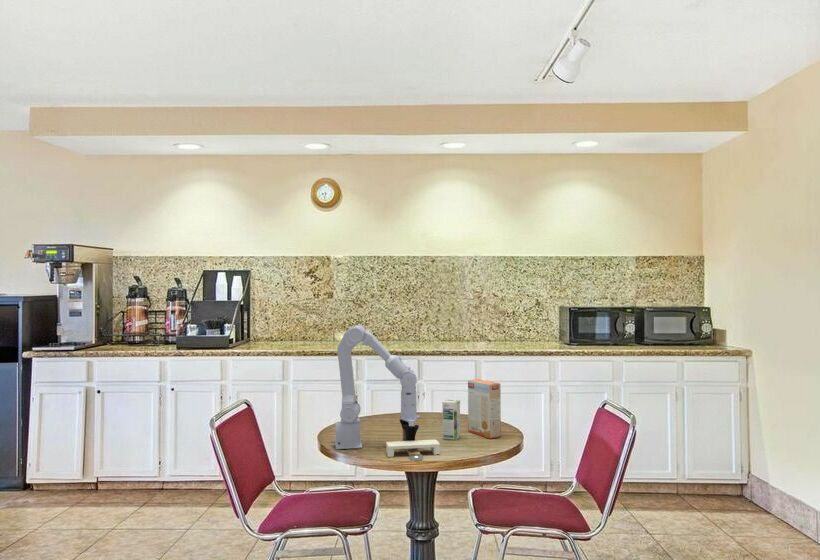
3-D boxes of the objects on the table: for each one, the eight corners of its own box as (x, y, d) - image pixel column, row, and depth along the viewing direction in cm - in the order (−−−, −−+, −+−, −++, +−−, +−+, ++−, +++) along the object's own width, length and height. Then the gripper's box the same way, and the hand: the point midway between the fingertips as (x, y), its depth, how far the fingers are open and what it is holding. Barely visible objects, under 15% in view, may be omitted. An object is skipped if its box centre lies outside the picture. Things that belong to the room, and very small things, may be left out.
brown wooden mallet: (409, 457, 189) (409, 439, 189) (402, 445, 204) (402, 428, 204) (420, 456, 189) (420, 439, 189) (413, 444, 204) (413, 428, 205)
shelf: (388, 457, 189) (388, 446, 189) (386, 452, 195) (386, 441, 195) (439, 454, 192) (439, 444, 192) (436, 449, 198) (436, 439, 198)
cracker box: (501, 437, 214) (501, 383, 215) (489, 439, 211) (489, 384, 212) (479, 429, 227) (479, 378, 227) (467, 431, 223) (467, 379, 224)
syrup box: (442, 439, 212) (441, 401, 212) (446, 435, 218) (446, 398, 218) (456, 440, 210) (456, 402, 210) (460, 436, 216) (460, 399, 216)
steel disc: (411, 462, 184) (411, 458, 184) (408, 458, 188) (408, 454, 188) (424, 461, 185) (423, 457, 185) (421, 457, 189) (421, 453, 189)
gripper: (423, 407, 196) (423, 446, 196) (416, 400, 210) (416, 436, 210) (403, 408, 195) (403, 447, 195) (397, 400, 209) (397, 436, 209)
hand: (408, 441), depth 202 cm, fingers open, 7 cm apart
